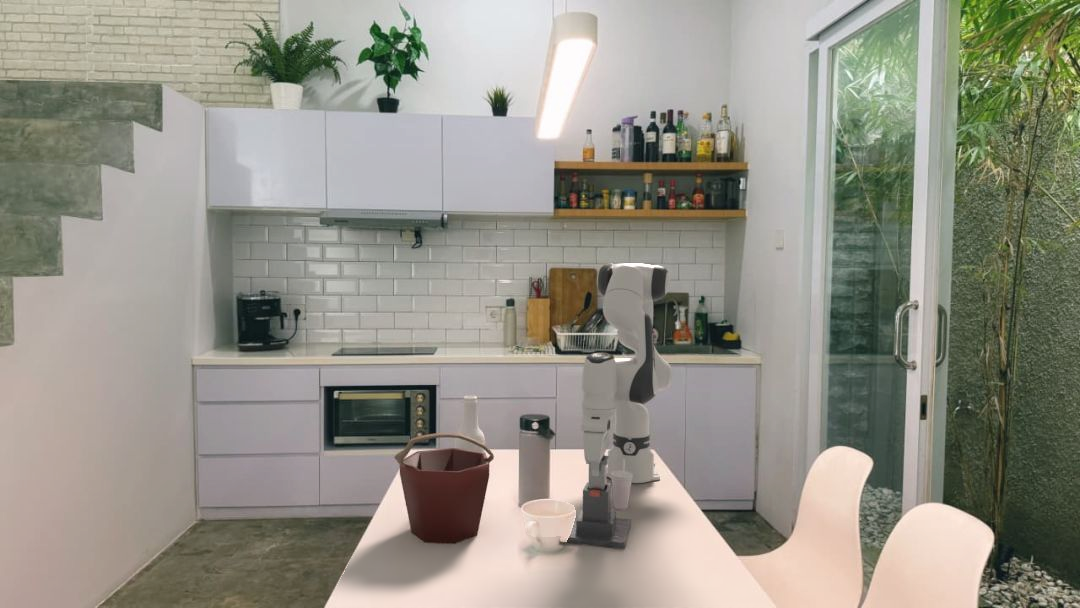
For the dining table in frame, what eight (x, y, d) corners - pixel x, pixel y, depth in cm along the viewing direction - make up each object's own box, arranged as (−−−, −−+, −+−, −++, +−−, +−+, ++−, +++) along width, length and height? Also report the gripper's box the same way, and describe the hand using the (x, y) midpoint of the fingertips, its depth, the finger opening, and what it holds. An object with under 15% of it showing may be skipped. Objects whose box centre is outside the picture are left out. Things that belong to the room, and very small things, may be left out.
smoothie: (631, 512, 191) (632, 462, 190) (608, 510, 192) (609, 461, 192) (633, 504, 197) (634, 456, 197) (610, 502, 199) (611, 454, 198)
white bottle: (484, 503, 197) (485, 399, 195) (453, 503, 196) (454, 399, 194) (484, 493, 205) (485, 393, 204) (455, 493, 205) (455, 393, 203)
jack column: (588, 522, 178) (589, 454, 177) (607, 524, 177) (609, 455, 176) (584, 529, 173) (586, 459, 172) (605, 532, 172) (606, 461, 171)
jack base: (571, 519, 185) (572, 474, 184) (630, 525, 181) (631, 479, 181) (559, 542, 169) (560, 493, 169) (624, 549, 166) (625, 499, 165)
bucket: (386, 546, 165) (386, 444, 164) (408, 513, 187) (408, 423, 186) (487, 549, 164) (488, 446, 163) (497, 516, 186) (498, 425, 185)
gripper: (592, 408, 185) (591, 459, 185) (579, 425, 165) (578, 482, 165) (615, 410, 183) (614, 461, 184) (606, 427, 163) (604, 484, 164)
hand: (597, 471), depth 174 cm, fingers open, 6 cm apart
